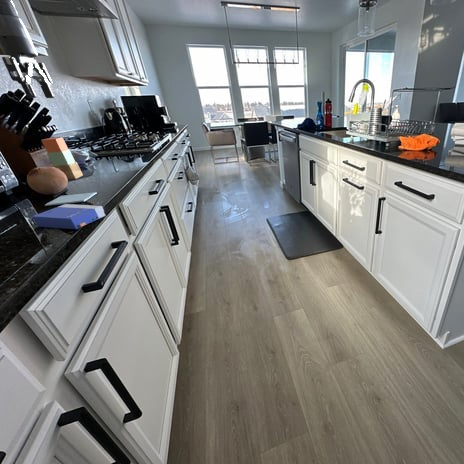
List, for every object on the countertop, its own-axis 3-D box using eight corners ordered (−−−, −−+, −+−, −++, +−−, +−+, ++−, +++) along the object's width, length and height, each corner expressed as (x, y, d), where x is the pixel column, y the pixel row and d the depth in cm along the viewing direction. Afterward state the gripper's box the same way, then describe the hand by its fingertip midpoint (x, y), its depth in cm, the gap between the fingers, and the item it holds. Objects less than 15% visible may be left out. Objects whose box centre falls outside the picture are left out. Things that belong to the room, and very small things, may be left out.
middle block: (53, 166, 97) (46, 152, 94) (61, 163, 101) (54, 150, 99) (68, 164, 98) (61, 151, 95) (75, 162, 102) (69, 149, 100)
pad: (45, 205, 73) (44, 204, 73) (61, 197, 80) (61, 195, 80) (84, 201, 75) (83, 200, 75) (97, 193, 82) (96, 192, 82)
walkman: (37, 226, 60) (77, 229, 58) (31, 216, 59) (71, 218, 57) (71, 213, 67) (107, 215, 65) (65, 203, 66) (103, 205, 63)
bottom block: (59, 180, 99) (52, 166, 96) (67, 176, 104) (60, 163, 101) (75, 179, 100) (68, 164, 98) (83, 175, 105) (76, 161, 102)
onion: (52, 205, 82) (23, 183, 74) (40, 193, 86) (10, 171, 77) (81, 188, 87) (56, 165, 79) (68, 177, 90) (43, 154, 82)
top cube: (47, 152, 95) (40, 139, 92) (55, 150, 99) (48, 138, 96) (61, 151, 95) (55, 138, 93) (68, 149, 99) (62, 137, 97)
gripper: (16, 41, 80) (43, 98, 88) (-25, 30, 68) (10, 98, 75) (44, 41, 82) (68, 98, 89) (9, 31, 69) (40, 97, 77)
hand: (41, 98), depth 82 cm, fingers open, 8 cm apart
